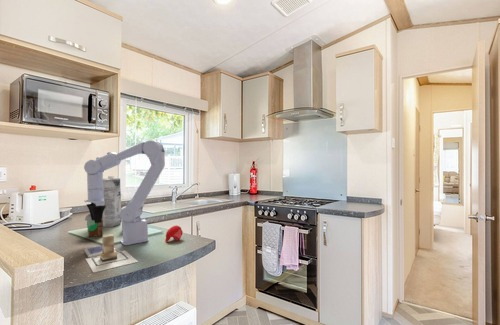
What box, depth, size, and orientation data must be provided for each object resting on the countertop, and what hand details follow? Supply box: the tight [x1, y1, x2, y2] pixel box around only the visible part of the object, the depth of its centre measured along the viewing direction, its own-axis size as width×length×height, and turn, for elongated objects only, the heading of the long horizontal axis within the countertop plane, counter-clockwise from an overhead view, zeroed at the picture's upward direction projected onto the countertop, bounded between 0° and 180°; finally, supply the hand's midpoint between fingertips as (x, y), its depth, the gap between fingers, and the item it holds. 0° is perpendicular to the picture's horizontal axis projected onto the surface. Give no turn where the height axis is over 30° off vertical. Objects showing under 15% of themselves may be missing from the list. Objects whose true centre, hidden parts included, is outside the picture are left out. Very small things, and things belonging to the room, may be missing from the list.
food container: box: [84, 213, 104, 238], centre depth 127 cm, size 12×6×10 cm, turn 40°
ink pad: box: [84, 245, 117, 258], centre depth 102 cm, size 9×9×1 cm
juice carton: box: [101, 175, 122, 228], centre depth 150 cm, size 9×10×27 cm
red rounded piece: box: [164, 225, 184, 243], centre depth 116 cm, size 8×6×6 cm
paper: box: [85, 250, 138, 273], centre depth 93 cm, size 13×16×1 cm
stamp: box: [100, 233, 117, 262], centre depth 94 cm, size 4×4×8 cm
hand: (96, 221), depth 114 cm, fingers open, 7 cm apart
